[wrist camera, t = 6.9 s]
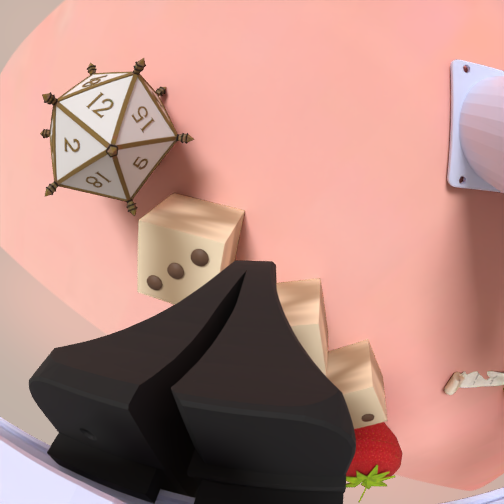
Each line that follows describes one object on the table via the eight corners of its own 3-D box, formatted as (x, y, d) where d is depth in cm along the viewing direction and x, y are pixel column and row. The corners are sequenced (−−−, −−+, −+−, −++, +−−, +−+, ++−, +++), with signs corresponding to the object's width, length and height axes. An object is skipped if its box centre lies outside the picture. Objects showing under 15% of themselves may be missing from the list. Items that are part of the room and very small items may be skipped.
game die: (161, 143, 24) (71, 238, 20) (104, 56, 18) (-8, 147, 14) (246, 133, 18) (128, 266, 14) (177, 6, 12) (4, 120, 8)
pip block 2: (367, 338, 24) (372, 387, 20) (382, 375, 26) (387, 422, 21) (309, 356, 26) (304, 404, 21) (329, 390, 28) (327, 435, 23)
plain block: (320, 277, 22) (318, 323, 18) (327, 331, 24) (326, 379, 20) (251, 285, 24) (235, 329, 19) (265, 336, 26) (254, 382, 21)
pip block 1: (245, 210, 21) (224, 244, 17) (232, 273, 23) (211, 317, 19) (172, 192, 21) (135, 220, 17) (166, 254, 24) (135, 292, 19)
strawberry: (364, 435, 30) (363, 514, 22) (321, 409, 29) (313, 498, 20) (409, 414, 28) (417, 498, 19) (370, 384, 26) (374, 482, 17)
